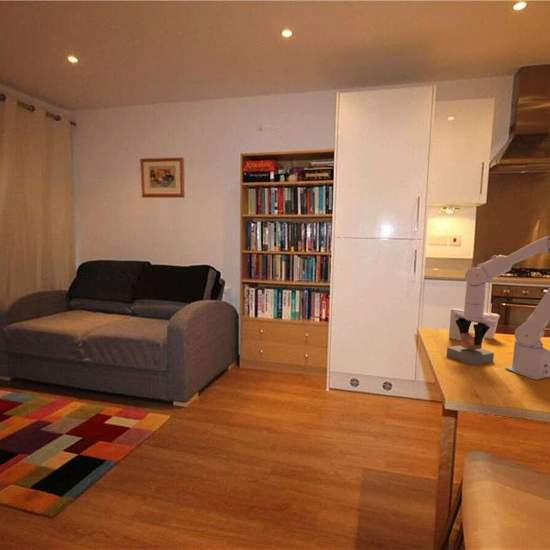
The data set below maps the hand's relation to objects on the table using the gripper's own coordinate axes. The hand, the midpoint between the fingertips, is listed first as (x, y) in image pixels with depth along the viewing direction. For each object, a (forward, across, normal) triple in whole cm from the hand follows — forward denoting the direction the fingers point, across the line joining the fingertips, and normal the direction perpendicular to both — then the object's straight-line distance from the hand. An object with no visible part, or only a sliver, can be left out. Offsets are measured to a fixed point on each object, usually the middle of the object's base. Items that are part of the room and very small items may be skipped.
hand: (470, 342), depth 126 cm
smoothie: (+6, +15, -30) cm, 34 cm away
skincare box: (+6, +18, -16) cm, 25 cm away
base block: (+6, 0, 0) cm, 6 cm away
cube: (+2, 0, 0) cm, 2 cm away
